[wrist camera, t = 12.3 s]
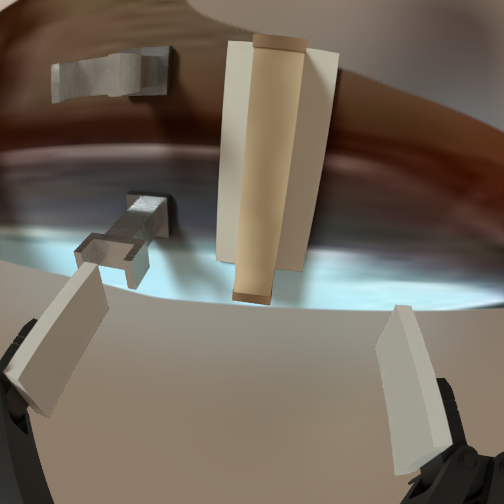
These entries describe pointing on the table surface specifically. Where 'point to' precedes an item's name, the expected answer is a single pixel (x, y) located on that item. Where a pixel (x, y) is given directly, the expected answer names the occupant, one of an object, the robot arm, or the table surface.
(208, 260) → the table surface
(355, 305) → the table surface
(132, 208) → the post far
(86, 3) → the table surface
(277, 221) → the rail
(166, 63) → the post near
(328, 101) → the mat
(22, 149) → the table surface
